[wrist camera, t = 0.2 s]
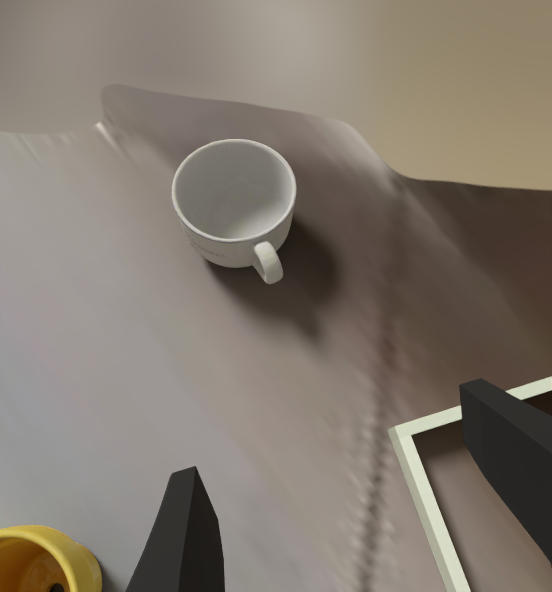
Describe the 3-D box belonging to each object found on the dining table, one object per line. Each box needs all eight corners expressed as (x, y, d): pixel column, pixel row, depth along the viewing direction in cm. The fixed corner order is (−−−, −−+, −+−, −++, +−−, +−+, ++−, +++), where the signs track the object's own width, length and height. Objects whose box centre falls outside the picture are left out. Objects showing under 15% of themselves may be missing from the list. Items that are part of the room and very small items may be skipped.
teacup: (179, 198, 52) (161, 149, 44) (280, 174, 52) (279, 123, 45) (206, 321, 47) (190, 290, 39) (316, 293, 48) (322, 258, 40)
